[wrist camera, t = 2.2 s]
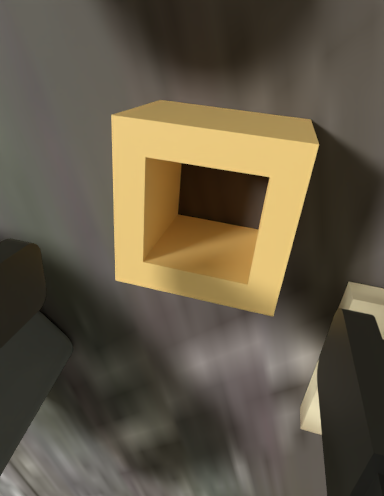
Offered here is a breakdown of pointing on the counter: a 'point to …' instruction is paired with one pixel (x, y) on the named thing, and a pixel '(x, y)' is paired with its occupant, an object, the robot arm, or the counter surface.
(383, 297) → the post stand
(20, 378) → the storage bin
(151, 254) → the ring
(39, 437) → the counter surface
